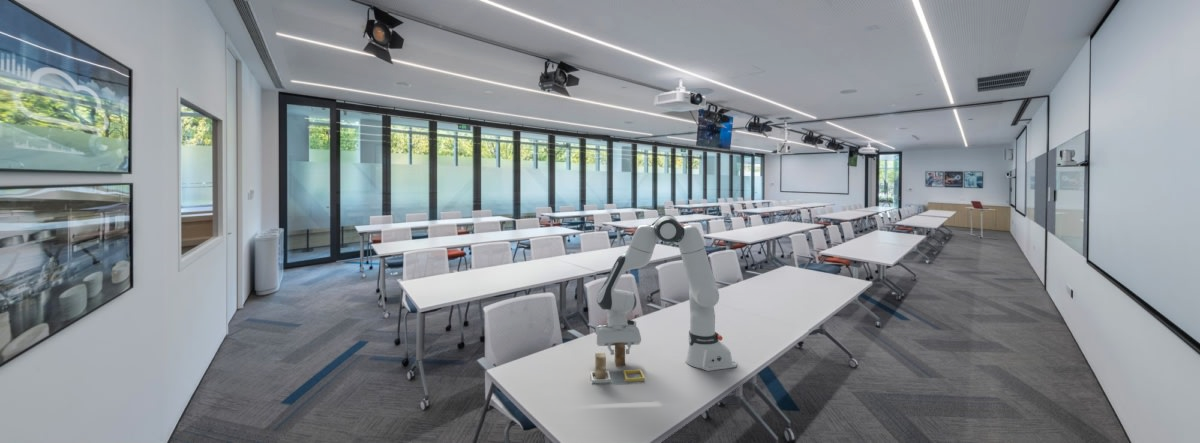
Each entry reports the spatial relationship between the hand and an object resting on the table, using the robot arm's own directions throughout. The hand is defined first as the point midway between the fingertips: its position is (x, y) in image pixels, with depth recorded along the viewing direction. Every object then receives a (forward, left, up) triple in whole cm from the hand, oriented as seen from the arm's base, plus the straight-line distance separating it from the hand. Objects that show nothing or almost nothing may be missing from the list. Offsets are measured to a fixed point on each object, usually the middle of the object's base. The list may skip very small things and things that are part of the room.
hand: (620, 354), depth 192 cm
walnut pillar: (0, -1, -6) cm, 6 cm away
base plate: (+3, +12, -6) cm, 14 cm away
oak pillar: (+10, +12, -5) cm, 17 cm away
